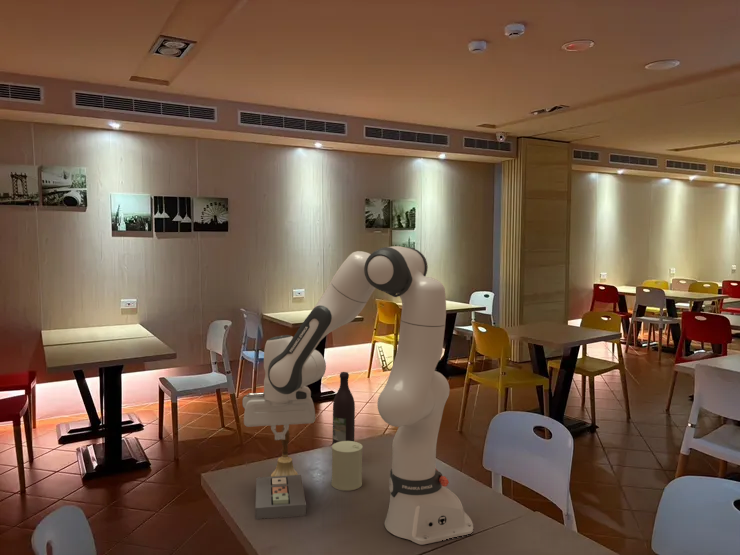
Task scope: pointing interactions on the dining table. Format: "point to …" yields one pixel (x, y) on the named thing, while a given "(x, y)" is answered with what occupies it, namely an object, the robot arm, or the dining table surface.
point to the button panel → (291, 509)
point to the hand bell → (284, 460)
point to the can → (347, 465)
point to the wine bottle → (343, 412)
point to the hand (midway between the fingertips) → (279, 439)
